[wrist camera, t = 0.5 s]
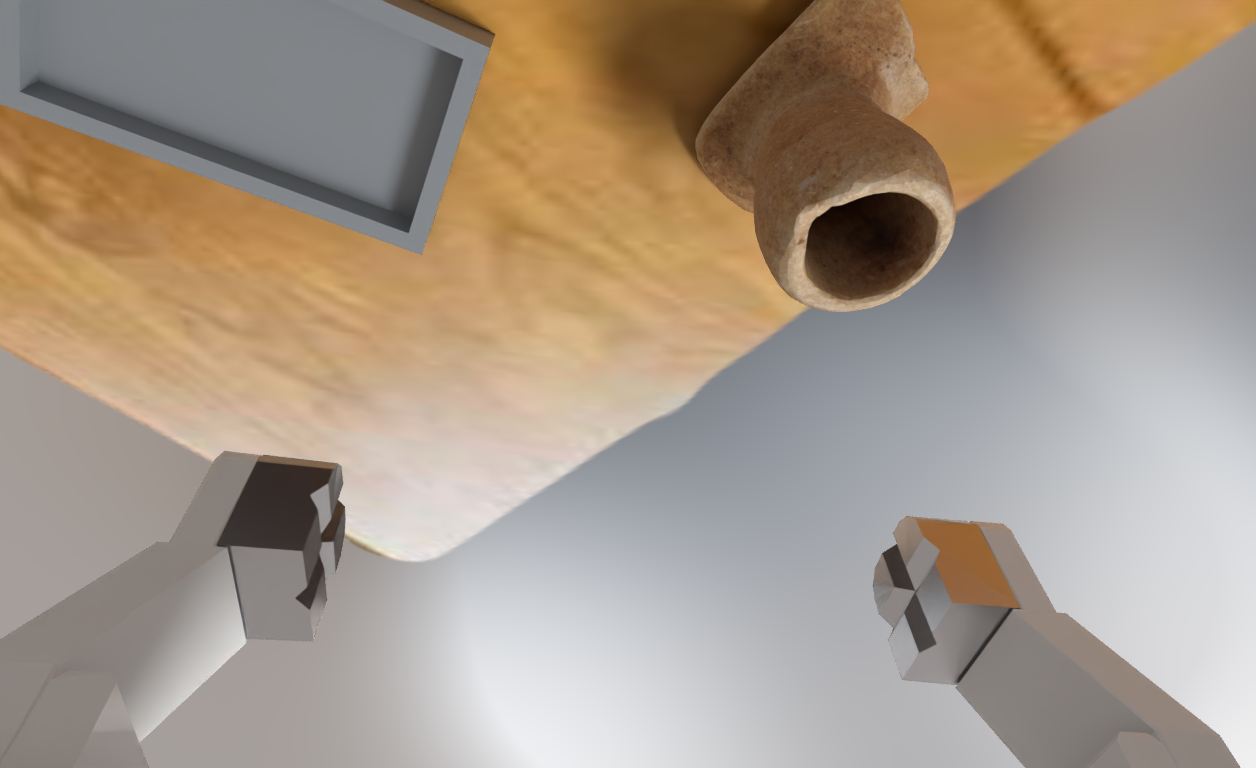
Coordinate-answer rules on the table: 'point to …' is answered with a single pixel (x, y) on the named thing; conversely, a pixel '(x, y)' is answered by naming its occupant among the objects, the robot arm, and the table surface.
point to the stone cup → (834, 157)
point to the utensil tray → (263, 95)
